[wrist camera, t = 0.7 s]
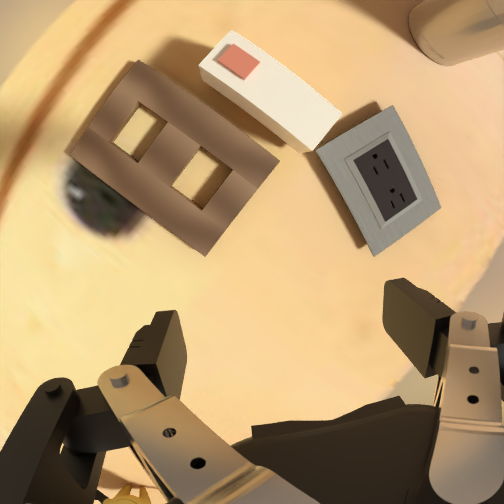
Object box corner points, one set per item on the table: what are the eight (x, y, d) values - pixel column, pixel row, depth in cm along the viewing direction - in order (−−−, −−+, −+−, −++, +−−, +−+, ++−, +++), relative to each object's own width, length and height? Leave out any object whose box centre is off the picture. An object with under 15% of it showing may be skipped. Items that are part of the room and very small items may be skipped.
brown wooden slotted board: (141, 63, 28) (138, 59, 27) (277, 161, 32) (280, 160, 30) (76, 155, 30) (70, 155, 28) (206, 252, 34) (205, 256, 32)
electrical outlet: (310, 150, 32) (316, 149, 30) (384, 107, 32) (394, 104, 29) (366, 251, 36) (375, 257, 33) (431, 205, 35) (442, 207, 33)
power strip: (230, 53, 29) (231, 27, 22) (321, 122, 31) (344, 112, 25) (203, 84, 29) (197, 63, 23) (295, 154, 32) (313, 150, 25)
